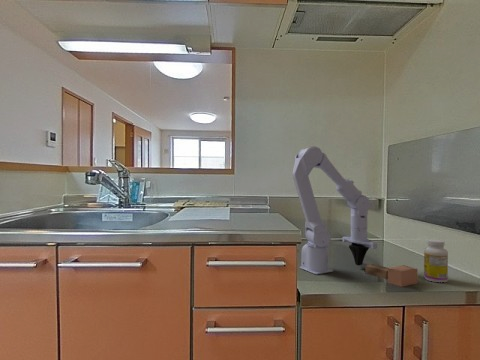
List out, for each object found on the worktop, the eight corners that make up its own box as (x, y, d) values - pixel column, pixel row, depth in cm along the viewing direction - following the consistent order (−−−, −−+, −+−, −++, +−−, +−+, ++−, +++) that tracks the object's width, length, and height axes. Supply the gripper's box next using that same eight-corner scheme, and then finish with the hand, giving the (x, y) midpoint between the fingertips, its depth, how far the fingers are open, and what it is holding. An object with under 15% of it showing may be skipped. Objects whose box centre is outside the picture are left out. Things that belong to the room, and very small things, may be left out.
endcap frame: (349, 269, 120) (349, 257, 120) (364, 266, 123) (364, 254, 123) (401, 286, 101) (401, 272, 101) (417, 283, 104) (417, 268, 104)
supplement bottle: (426, 275, 112) (426, 237, 112) (449, 279, 108) (449, 240, 108) (422, 280, 107) (422, 240, 107) (446, 284, 103) (446, 243, 103)
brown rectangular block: (365, 274, 115) (365, 265, 115) (372, 272, 117) (372, 263, 117) (386, 280, 108) (386, 271, 108) (393, 278, 110) (393, 269, 110)
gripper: (383, 229, 116) (383, 268, 116) (351, 224, 129) (351, 259, 129) (368, 231, 113) (368, 270, 113) (338, 225, 126) (338, 261, 126)
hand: (358, 264), depth 121 cm, fingers closed
